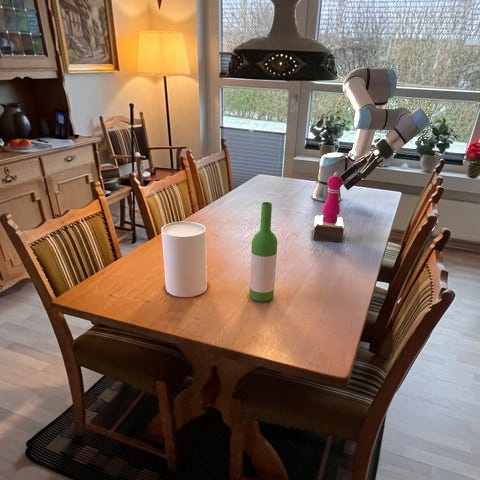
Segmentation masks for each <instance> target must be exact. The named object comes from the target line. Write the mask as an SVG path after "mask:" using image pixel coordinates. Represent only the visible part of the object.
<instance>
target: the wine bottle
mask: <svg viewBox="0 0 480 480" xmlns="http://www.w3.org/2000/svg"><path fill="white" fill-rule="evenodd" d="M260 209H261V210H260V225H259V226H260V227H259V230H258V231H257V232H256V233H254V235H253V236H252V239H251V246H250V247H251V248H250V249H251V250H250V266H249V267H250V268H249V269H250V271H249V297H250V298H251V299H252V300H253V301H256V302H261V303H263V302H268V301H270V300H272V299H273V297H274V294H275V281H276V271H277V270H276V269H277V258H278V257H277V255H278V238H277V236H276V234H275V233H274V231H272V230H271V229H272V228H271V227H272V213H273V203H272V202H269V201H263V202H261V208H260Z"/></svg>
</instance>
